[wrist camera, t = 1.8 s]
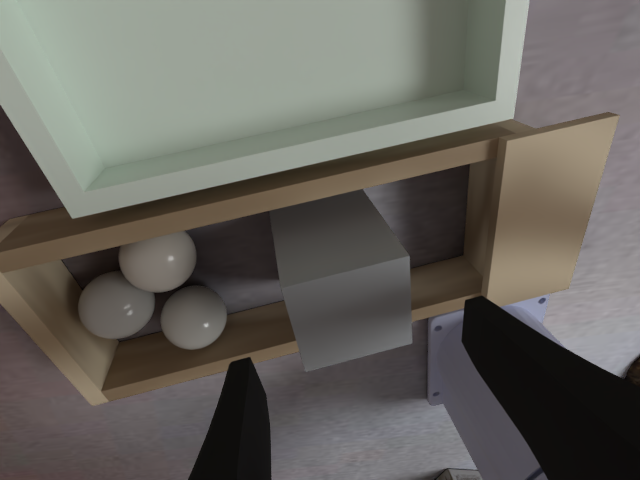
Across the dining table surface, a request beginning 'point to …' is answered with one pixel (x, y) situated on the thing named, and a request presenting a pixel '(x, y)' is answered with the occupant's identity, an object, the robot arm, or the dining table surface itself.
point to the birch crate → (303, 186)
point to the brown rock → (634, 373)
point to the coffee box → (460, 475)
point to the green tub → (242, 85)
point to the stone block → (342, 279)
